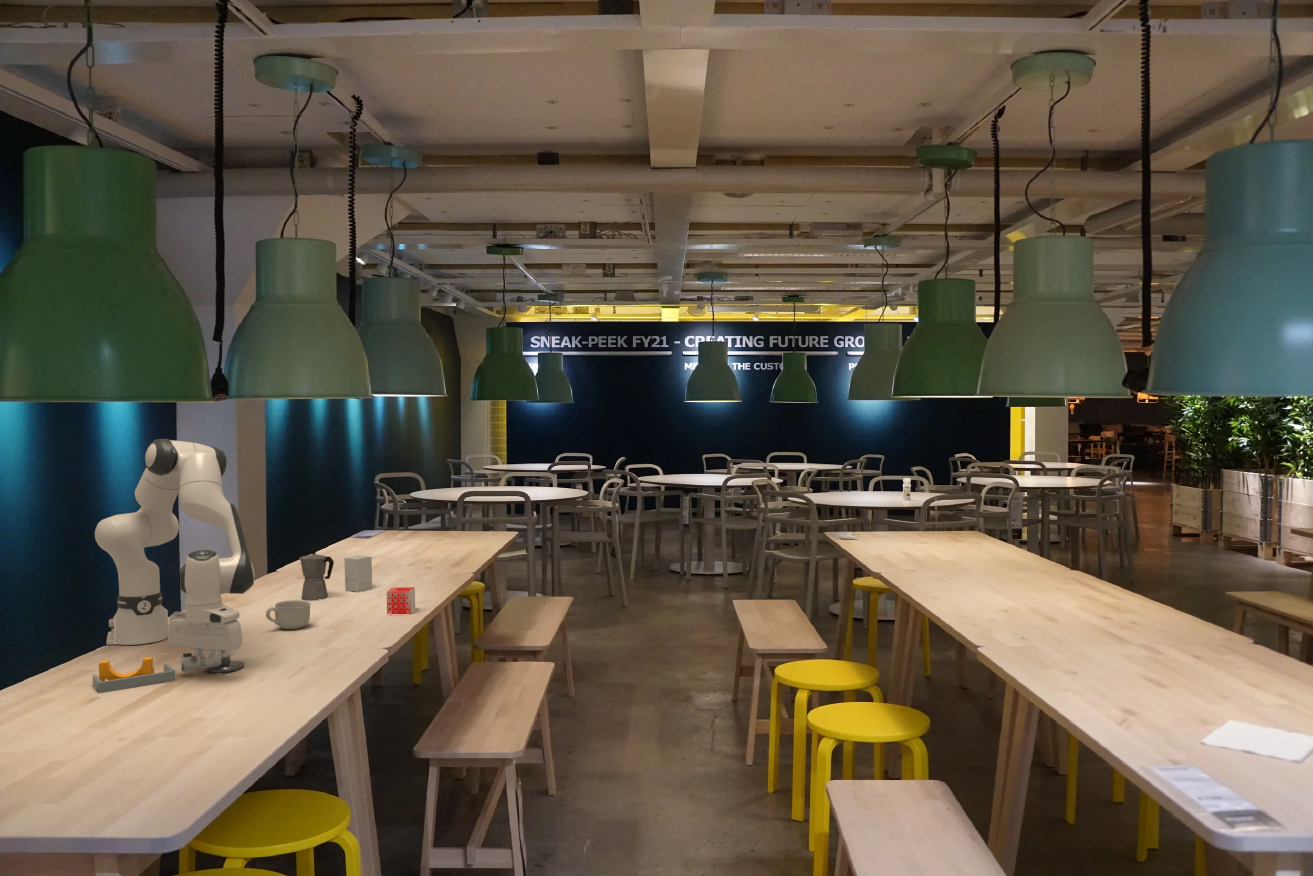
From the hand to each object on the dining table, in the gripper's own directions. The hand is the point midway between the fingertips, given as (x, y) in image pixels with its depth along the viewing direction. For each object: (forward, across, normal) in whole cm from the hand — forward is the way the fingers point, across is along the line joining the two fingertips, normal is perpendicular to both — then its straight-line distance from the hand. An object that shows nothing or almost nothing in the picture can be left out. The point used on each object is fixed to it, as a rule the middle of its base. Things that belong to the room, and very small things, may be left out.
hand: (205, 665), depth 269 cm
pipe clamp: (+4, -16, -10) cm, 19 cm away
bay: (+3, -15, -8) cm, 17 cm away
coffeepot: (+4, -30, +100) cm, 105 cm away
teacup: (+4, -11, +55) cm, 56 cm away
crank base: (+3, 0, +8) cm, 9 cm away
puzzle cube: (+4, +13, +84) cm, 85 cm away
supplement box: (+4, -23, +118) cm, 120 cm away
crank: (+2, -3, +4) cm, 5 cm away
